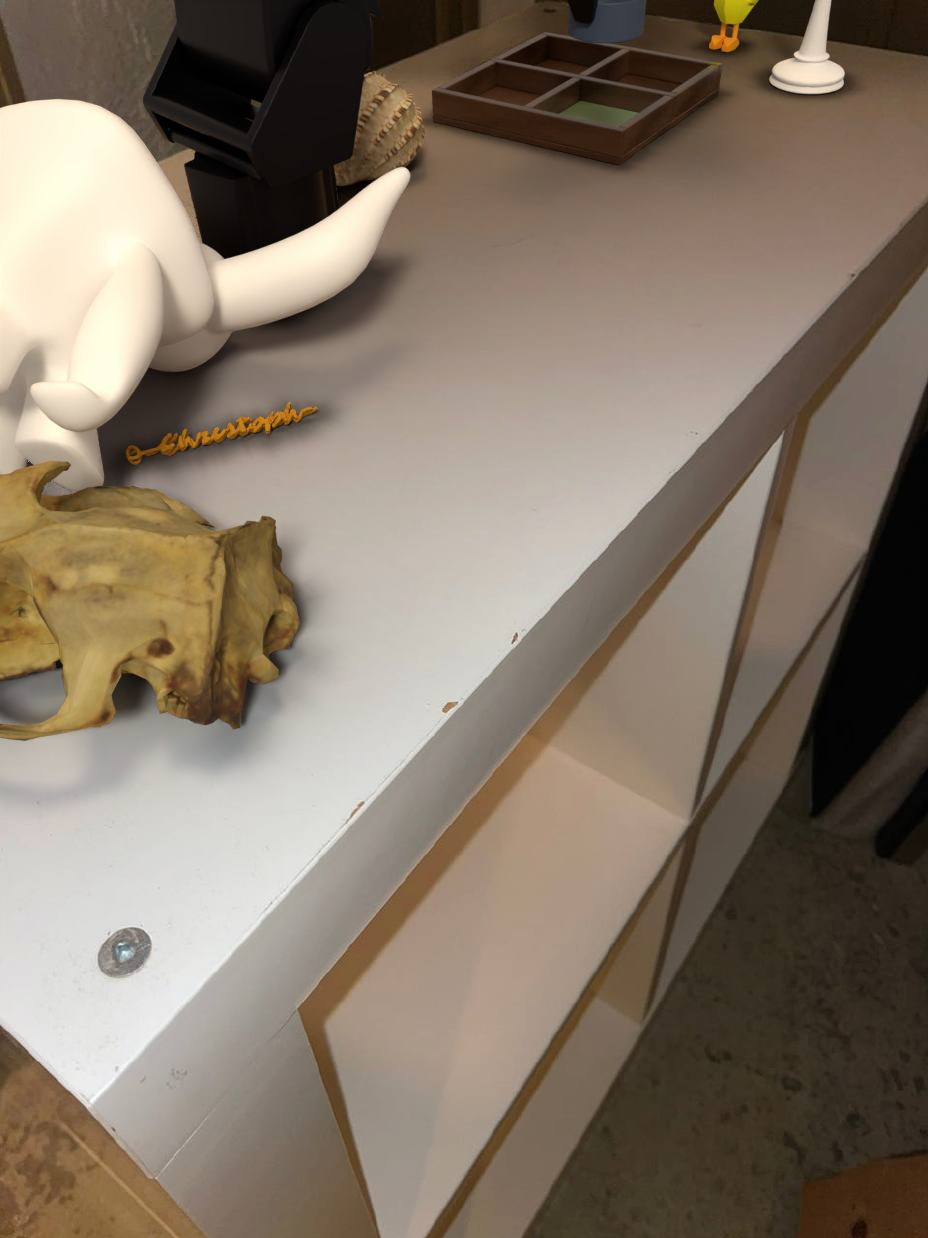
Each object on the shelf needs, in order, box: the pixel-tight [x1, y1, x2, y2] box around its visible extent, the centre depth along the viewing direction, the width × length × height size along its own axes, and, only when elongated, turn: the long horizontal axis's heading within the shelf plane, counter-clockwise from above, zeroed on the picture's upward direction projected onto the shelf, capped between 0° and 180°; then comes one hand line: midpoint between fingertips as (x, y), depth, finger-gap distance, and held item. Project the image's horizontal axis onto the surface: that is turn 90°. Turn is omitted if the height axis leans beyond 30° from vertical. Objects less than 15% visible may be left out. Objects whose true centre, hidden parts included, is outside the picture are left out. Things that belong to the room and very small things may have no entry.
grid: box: [431, 31, 724, 166], centre depth 63 cm, size 14×14×2 cm
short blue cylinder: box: [567, 0, 647, 44], centre depth 55 cm, size 4×4×2 cm
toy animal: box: [0, 98, 411, 492], centre depth 37 cm, size 20×12×17 cm
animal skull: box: [0, 461, 300, 742], centre depth 29 cm, size 10×16×7 cm
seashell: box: [334, 71, 426, 187], centre depth 55 cm, size 8×6×10 cm
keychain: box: [125, 401, 318, 466], centre depth 39 cm, size 8×1×1 cm, turn 112°
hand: (604, 11), depth 55 cm, fingers closed on short blue cylinder, 4 cm apart
